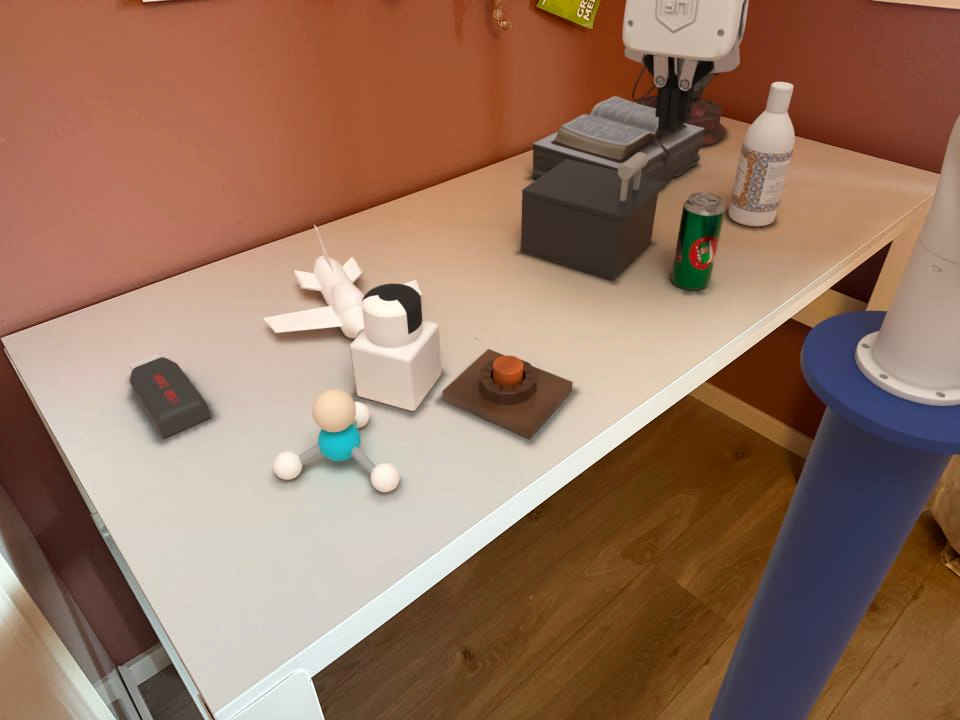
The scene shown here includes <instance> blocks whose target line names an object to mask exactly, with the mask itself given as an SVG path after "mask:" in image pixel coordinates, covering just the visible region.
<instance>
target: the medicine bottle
mask: <svg viewBox="0 0 960 720" xmlns="http://www.w3.org/2000/svg"><path fill="white" fill-rule="evenodd" d="M403 284H404V283H385V284H380V285H377V286H375V287H373V288H371V289H369V290H368V291H367V292H366V293H365V294H364V297H363V299H362V311H363V318H364V326H365V329H364V330H363V331H362V332H361V333H360V334H359V336H358V337H357V338H354V339H353V341H352V342H351V343H350V344H349V352H350V358H351V365H352V370H353V377H354V383H355V390H356V395H357V396H358V397H360V398H364V399H367V400H370V401H374V402H378V403H381V404H385V405H388V406H392V407H396V408H400V409H402V410H407V411H410V412H415V411H416V410H417V409H418V407H419V406H420V404H421V403H422V402H423V400H424V399H425V397H426V396H427V395H428V393H429V392H430V390H431V389H432V388H433V386H434V385H435V384H436V382H437V381H438V380H439V378H440V376H442V357H441V356H442V355H441V340H440V325H439V323H437V322H433V321H429V320H425V319H423V310H422V308H423V307H422V296H420V294H419V293H418V292H417V291H416V290H415V289H413V288H412V287H410V286H407V285H403Z"/></svg>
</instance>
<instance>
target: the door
mask: <svg viewBox="0 0 960 720" xmlns="http://www.w3.org/2000/svg"><path fill="white" fill-rule="evenodd" d="M647 163H648V158H647V156H646V155H645V154H644V153H642V152H639V153H636V154H635V155H634V156H633V157H631V158H630V159H629V160H628V161H626V162H625V163H624V164H622V165H621V166H620V167H619V169H618V171H616V170H611V169H607V168H603V167H599V166H594V165H590V164H586V163H582V162H578V161H573V160H569V159H566V160H564V161H563V162H562V163H560V164H559V165H557V166H556V167H554V168H553V169H551V170H550V171H549V172H547V173H546V174H544V175H543V176H541V177H540V178H538V179H536V180H534V181H533V182H531V183H530V184H528V185H527V186H525V187H524V188H523V189H522V190H521V196H522V195H524V196H528V197H532V198H535V199H539V200H543V201H546V202H550V203H554V204H557V205H561V206H565V207H568V208H572V209H576V210H580V211H583V212H587V213H591V214H594V215H598V216H602V217H605V218H609V219H613V220H616V221H620V222H624V223H626V222H628V221H629V220H630V219H631V218H632V217H633V216H634V215H635V214H636V213H637V212H638V211H640V210H641V209H642V208H643V207H644V206H645V205H646V204H647V203H648V202H649V201H650V200H652V199H653V198H654V197H655V196H656V195H657V194H658V195H659V194H660V192H662V191H663V190H664V189H665V187H666V184H665V182H662V181H658V180H654V179H649V178H645V177H641V171H642V168H643V167H645V166H646V165H647Z"/></svg>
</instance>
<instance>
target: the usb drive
mask: <svg viewBox="0 0 960 720" xmlns="http://www.w3.org/2000/svg"><path fill="white" fill-rule="evenodd" d="M129 367H130V371H131V373H130V377H129V384H130V386H131V388H132V391H133V393H134V396H135V398H136V399H137V401H138V402H139V404H140V406H141V408H142V409H143V411H144V412H145V414H146V415H147V417H148V418H149V420H150V422H151V424H152V425H153V426H154V428H155V429H156V431H157V433H158V434H159V436H160V437H161V439H162V440H164V439H166V438H169V437H170V436H172V435H175V434H177V433H179V432H181V431H182V432H183V430H187V429H189V428H191V427H193V426H195V425H197V424H200V423H202V422H204V421H206V420H209V419H211V418H212V415H211V412H210V409H209V406H208V403H207V402H206V400H205V399H204V398H203V396H202V395H201V393H200V392H199V390H198V389H197V388H196V387H195V386H194V384H193V382H191V380H190V378H188V376H187V375H186V373H185V372H184V370H183V369H182V368H181V367H180V365H179V364H178V363H177V362H175V361H173V360H172V359H170V358H167V357H164V356H161V355H160V353H155V354H153V355H150V356H148V357H144V358H142V359H139V360H137V361H135V362H131V363H129Z"/></svg>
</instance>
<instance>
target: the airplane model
mask: <svg viewBox="0 0 960 720" xmlns="http://www.w3.org/2000/svg"><path fill="white" fill-rule="evenodd" d="M313 227H314V230H315V232H316V236H317V239H318V242H319V246H320V250H321V252H322V255H320V256H318V257H317V258H316V260H315V261H314V265H313V269H312V272H309V271H301V270H295V269H294V270H293V272H294V274H295V278H296V279H297V281H298V282H297V283H298V284H299V286H300V288H301V289H303V290H310V291H315V292H320V294H321V296H322V297H323V299H324V301H325V302H326V304H327V306H322V307H321V306H320V307H318V308H317V307H316V308H311V309H305V310H300V311H299V310H298V311H293V312H289V313H283V314H277V315H272V316H271V315H270V316H266V317H262V319H263V320H264V322H265V323H266V324H267V325H268V326H269V327H270V329H271V330H272V331H273V333H274V334H282V333H290V332H300V331H310V330H319V329H329V328H340V329H341V331H342V333H343V334H344V335H345V337H347V338H350V339H356V338H357V337H358V336H359V334H360V333H361V332H362V331H363V330H364V329H365V326H364V318H363V311H362V299H363V297H364V296H365V294H364V293H363V292H362V291H361V290H360V289H359V288H358V287H357V286H356V285H355V284H354V283H355V282H356V281H357V280H358V279H360V278H361V276H363V274H364V271H363V270H362V269H361V267H360V266H359V264H358V263H357V261H356V259H355V258H354V256H351V257H350V258H349V259H348V260H347V261H346V262H345V263H344V264H343V265H342V264H341V263H340V262H339V261H337V260H335V259H334V258H332V257H330V256H329V255H328V252H327V249H326V247H325V244H324V242H323V240H322V237H321V235H320V232H319V229H318V227H317V226H316V225H315V224H313ZM402 284H403V285H407V286H410V287H412V288H413V289H415V290H416V291H417V292H418V293H419V294H420V297H422V295H423V294H422V291H421V289H420V286H419V284H418V281H417V279H414V280H411V281H408V282H405V283H402Z"/></svg>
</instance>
